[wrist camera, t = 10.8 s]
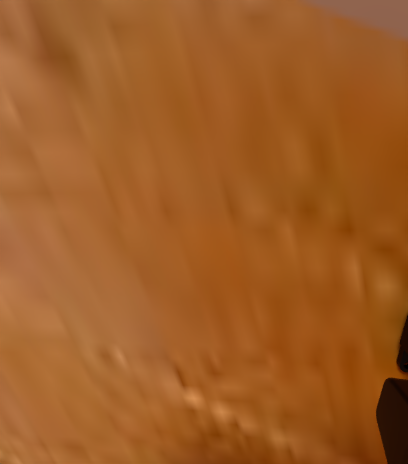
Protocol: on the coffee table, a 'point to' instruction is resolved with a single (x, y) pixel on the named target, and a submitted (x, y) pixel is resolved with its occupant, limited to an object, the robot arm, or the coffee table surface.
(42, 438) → the coffee table surface
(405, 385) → the robot arm
